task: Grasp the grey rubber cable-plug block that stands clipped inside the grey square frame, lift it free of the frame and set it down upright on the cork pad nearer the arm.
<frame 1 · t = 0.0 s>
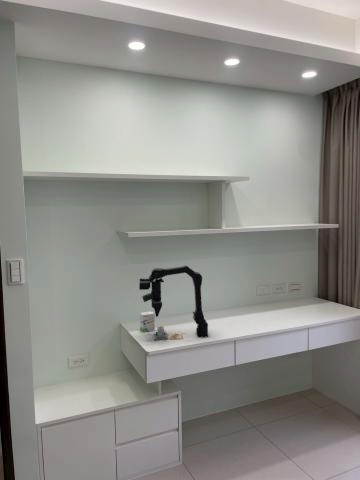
hand: (156, 314, 226), 15 cm above the table, fingers open, 9 cm apart
cable plug: (160, 337, 228), resting in grey square frame
cork pad: (175, 336, 229), on the table
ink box: (147, 330, 241), on the table
grey square frame: (160, 337, 228), on the table
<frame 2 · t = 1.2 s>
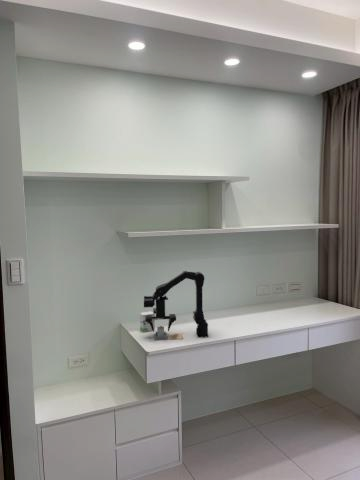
hand: (160, 331, 227), 4 cm above the table, fingers open, 9 cm apart
nothing on the table moved.
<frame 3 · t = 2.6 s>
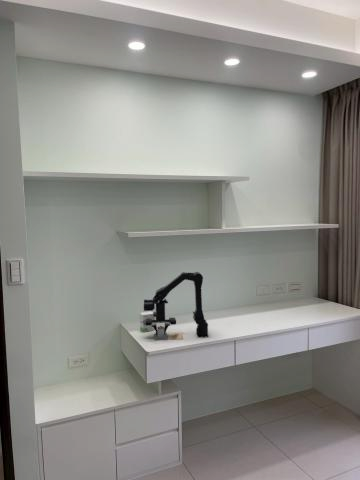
hand: (160, 335, 228), 2 cm above the table, fingers closed on cable plug, 4 cm apart
cable plug: (160, 337, 228), resting in grey square frame, touching gripper
everything else where it was.
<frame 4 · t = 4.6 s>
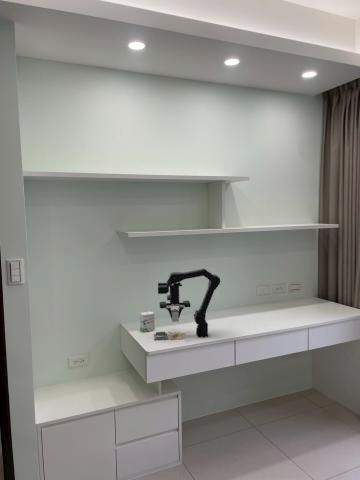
hand: (175, 318, 228), 12 cm above the table, fingers closed on cable plug, 4 cm apart
cable plug: (175, 320, 228), point 10 cm above the table, touching gripper
everything else where it was.
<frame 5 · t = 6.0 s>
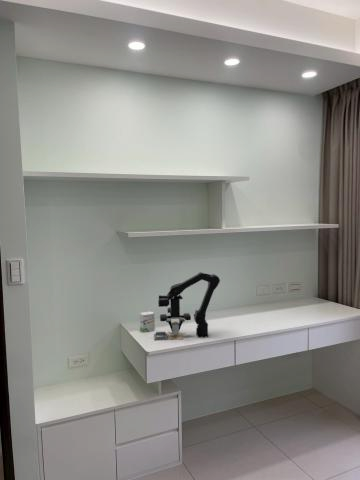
hand: (175, 330, 228), 4 cm above the table, fingers closed on cable plug, 4 cm apart
cable plug: (175, 333, 228), point 2 cm above the table, touching gripper
everything else where it was.
when the fingers open (2 cm above the table, at t = 7.0 s): cable plug stays where it is, resting on cork pad.
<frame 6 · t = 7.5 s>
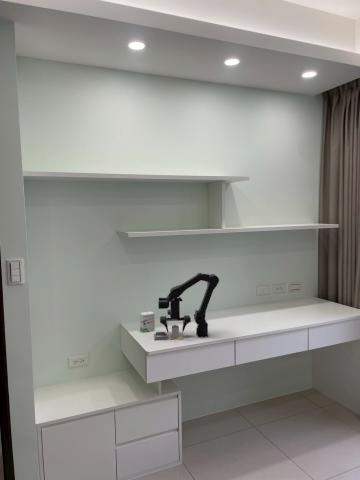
hand: (175, 332, 228), 2 cm above the table, fingers open, 9 cm apart
cable plug: (175, 336, 229), resting on cork pad
everything else where it was.
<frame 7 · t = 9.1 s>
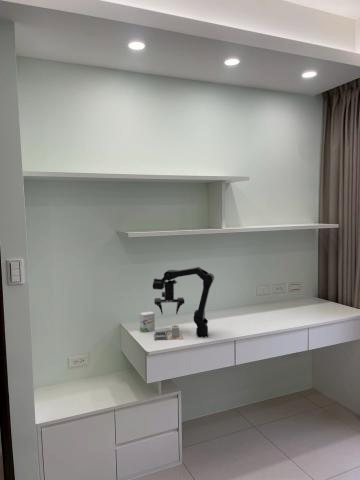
hand: (169, 314, 235), 12 cm above the table, fingers open, 9 cm apart
nothing on the table moved.
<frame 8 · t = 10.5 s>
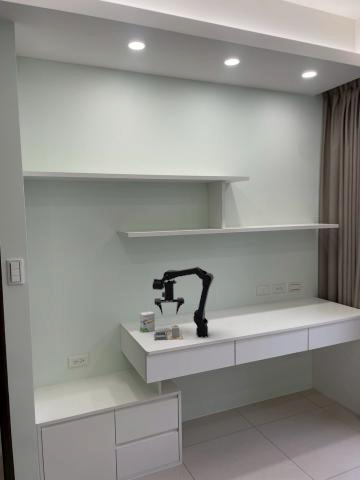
hand: (169, 314, 235), 12 cm above the table, fingers open, 9 cm apart
nothing on the table moved.
at the end: cable plug inside the target area on the cork pad (0.1 cm from its centre), point 0.3 cm above the cork pad's base; cable plug tilted 0°; the gripper is holding nothing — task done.
